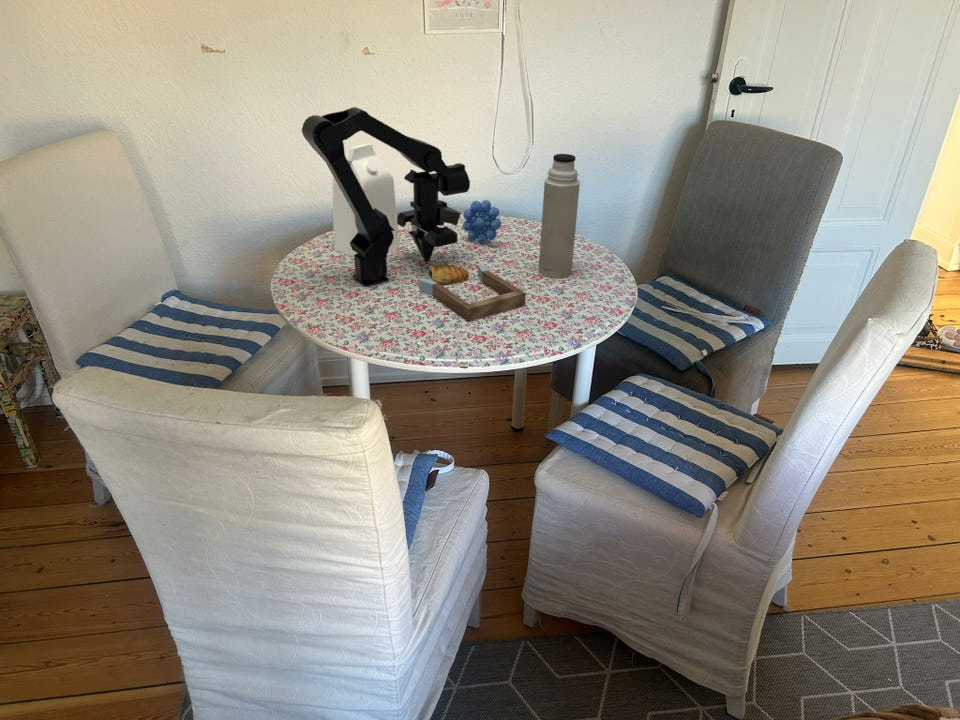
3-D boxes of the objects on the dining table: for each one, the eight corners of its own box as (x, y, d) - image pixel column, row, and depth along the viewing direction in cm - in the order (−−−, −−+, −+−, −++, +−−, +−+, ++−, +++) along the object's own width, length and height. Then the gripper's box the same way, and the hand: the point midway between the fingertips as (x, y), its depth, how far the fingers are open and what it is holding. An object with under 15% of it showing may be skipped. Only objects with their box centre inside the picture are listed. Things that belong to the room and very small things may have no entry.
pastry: (464, 272, 173) (465, 258, 171) (471, 284, 168) (471, 269, 166) (426, 276, 171) (426, 261, 169) (432, 287, 166) (431, 272, 164)
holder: (462, 323, 150) (462, 310, 148) (418, 291, 163) (417, 279, 162) (529, 303, 159) (530, 291, 157) (482, 275, 172) (482, 263, 170)
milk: (367, 236, 192) (361, 137, 179) (399, 247, 186) (395, 145, 173) (334, 249, 184) (325, 146, 170) (366, 261, 178) (359, 155, 165)
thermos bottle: (531, 269, 175) (539, 154, 161) (556, 262, 179) (565, 149, 165) (553, 281, 170) (563, 162, 155) (578, 273, 174) (589, 157, 160)
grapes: (508, 243, 190) (510, 199, 184) (494, 251, 185) (496, 206, 179) (472, 234, 195) (472, 190, 189) (457, 241, 190) (458, 197, 184)
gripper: (477, 204, 164) (476, 267, 172) (435, 183, 177) (435, 243, 185) (435, 212, 158) (436, 277, 166) (394, 189, 172) (397, 251, 180)
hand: (427, 261), depth 174 cm, fingers closed
